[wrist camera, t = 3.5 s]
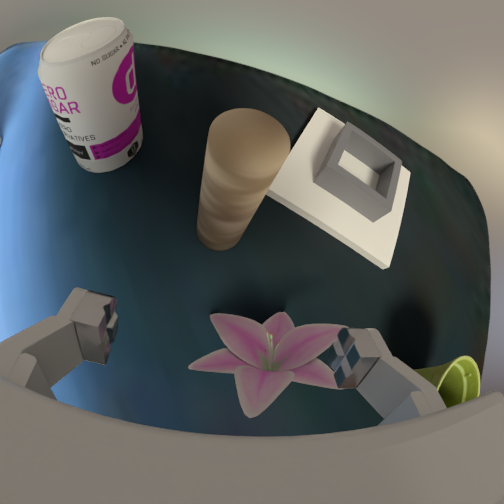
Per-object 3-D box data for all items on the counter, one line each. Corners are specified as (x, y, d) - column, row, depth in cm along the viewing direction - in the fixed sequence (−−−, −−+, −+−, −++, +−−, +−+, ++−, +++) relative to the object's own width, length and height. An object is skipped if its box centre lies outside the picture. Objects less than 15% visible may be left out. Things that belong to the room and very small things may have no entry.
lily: (333, 338, 28) (363, 282, 21) (315, 447, 20) (352, 434, 13) (223, 314, 30) (216, 252, 23) (184, 416, 22) (154, 388, 15)
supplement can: (149, 119, 29) (144, 10, 15) (135, 176, 27) (111, 60, 13) (88, 120, 27) (61, 22, 13) (68, 176, 25) (15, 77, 11)
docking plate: (264, 193, 29) (278, 170, 25) (315, 113, 35) (328, 90, 30) (382, 269, 30) (409, 259, 26) (405, 176, 36) (425, 160, 31)
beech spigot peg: (187, 236, 26) (191, 144, 13) (211, 200, 28) (235, 97, 15) (227, 259, 26) (268, 187, 13) (249, 222, 28) (302, 133, 15)
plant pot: (425, 346, 29) (478, 342, 21) (430, 409, 27) (480, 417, 18) (370, 372, 26) (427, 379, 18) (378, 442, 24) (429, 462, 16)
